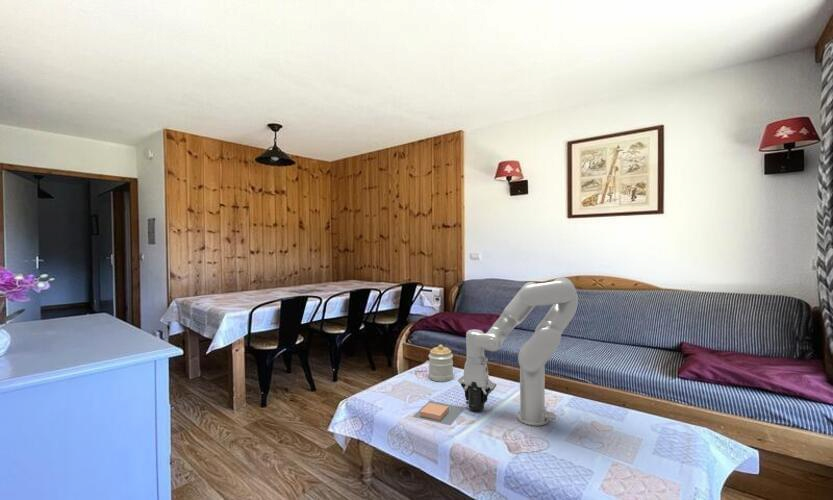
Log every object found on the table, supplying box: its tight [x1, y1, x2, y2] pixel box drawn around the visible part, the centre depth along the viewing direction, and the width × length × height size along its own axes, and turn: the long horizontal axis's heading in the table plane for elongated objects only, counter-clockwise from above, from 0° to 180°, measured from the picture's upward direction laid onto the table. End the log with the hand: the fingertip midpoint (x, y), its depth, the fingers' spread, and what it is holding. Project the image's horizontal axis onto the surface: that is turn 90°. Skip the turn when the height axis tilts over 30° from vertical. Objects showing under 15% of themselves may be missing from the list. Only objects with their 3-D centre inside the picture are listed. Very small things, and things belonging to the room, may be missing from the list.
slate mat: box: [412, 400, 466, 426], centre depth 160 cm, size 17×17×1 cm
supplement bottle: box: [467, 382, 485, 412], centre depth 162 cm, size 7×7×12 cm
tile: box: [420, 403, 449, 421], centre depth 158 cm, size 9×2×9 cm
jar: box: [428, 344, 454, 383], centre depth 201 cm, size 13×13×18 cm
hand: (476, 400), depth 162 cm, fingers closed on supplement bottle, 6 cm apart
